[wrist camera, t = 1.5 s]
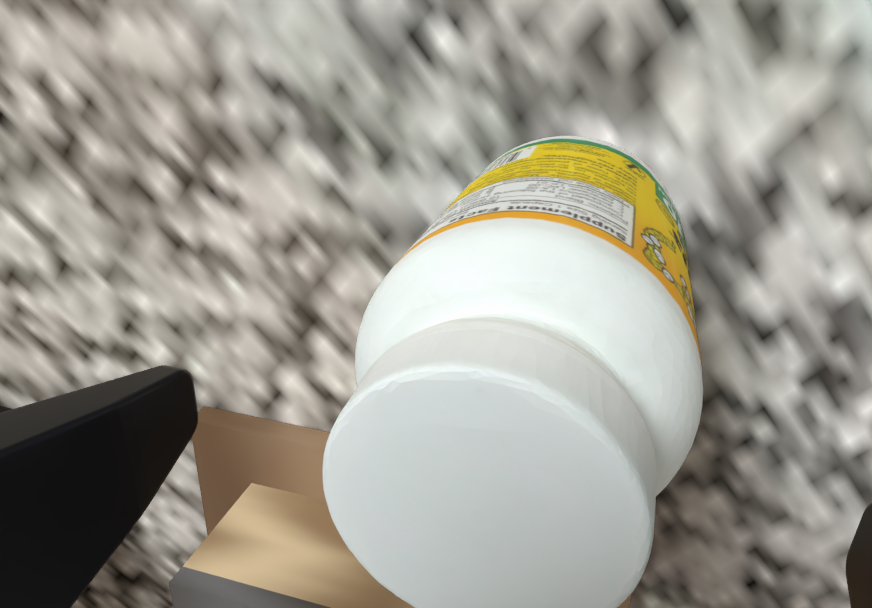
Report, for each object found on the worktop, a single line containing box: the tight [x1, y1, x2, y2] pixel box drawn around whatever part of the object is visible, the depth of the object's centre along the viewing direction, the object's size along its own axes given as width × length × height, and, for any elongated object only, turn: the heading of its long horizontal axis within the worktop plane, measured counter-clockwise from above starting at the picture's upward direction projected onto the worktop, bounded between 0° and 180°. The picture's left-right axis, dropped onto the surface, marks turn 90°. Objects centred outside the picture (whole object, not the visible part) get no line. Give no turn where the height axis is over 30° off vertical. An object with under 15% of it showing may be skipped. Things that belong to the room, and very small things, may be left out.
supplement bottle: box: [322, 136, 703, 608], centre depth 12 cm, size 5×5×10 cm
